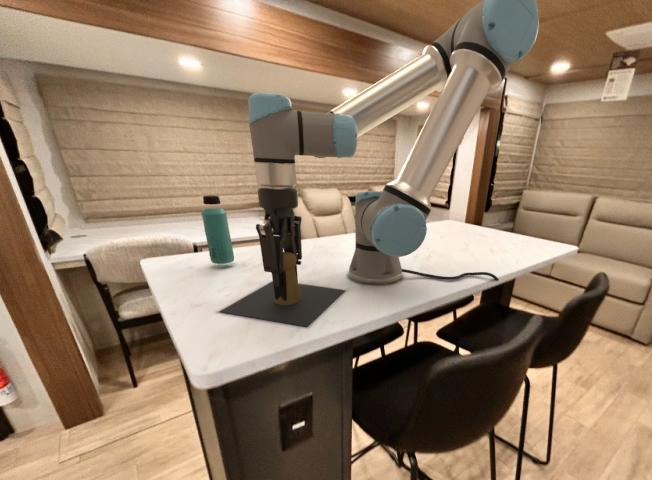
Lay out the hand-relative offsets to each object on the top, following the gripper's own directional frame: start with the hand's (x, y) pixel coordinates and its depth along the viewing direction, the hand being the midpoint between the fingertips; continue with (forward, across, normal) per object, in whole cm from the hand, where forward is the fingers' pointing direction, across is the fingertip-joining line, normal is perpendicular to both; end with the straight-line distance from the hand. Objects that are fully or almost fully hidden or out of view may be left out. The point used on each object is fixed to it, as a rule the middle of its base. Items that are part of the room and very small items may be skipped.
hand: (287, 295), depth 71 cm
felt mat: (+1, 0, 0) cm, 1 cm away
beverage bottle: (+2, -16, -31) cm, 35 cm away
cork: (+1, 0, 0) cm, 1 cm away
